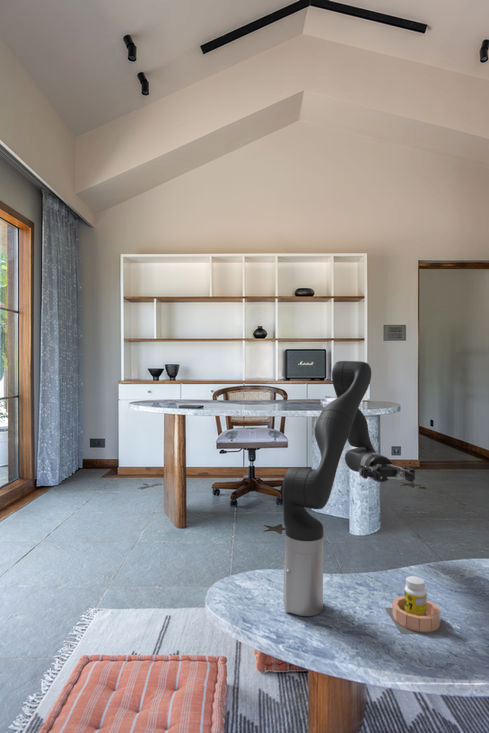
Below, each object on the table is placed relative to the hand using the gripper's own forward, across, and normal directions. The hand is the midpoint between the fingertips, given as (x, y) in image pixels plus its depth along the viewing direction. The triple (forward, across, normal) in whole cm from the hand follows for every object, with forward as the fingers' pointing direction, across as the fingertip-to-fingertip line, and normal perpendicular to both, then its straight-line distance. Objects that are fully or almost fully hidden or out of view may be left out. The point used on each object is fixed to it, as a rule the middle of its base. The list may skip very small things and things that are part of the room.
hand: (395, 477), depth 114 cm
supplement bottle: (+13, 0, +29) cm, 32 cm away
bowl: (+13, 0, +30) cm, 32 cm away
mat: (+13, 0, +30) cm, 33 cm away
